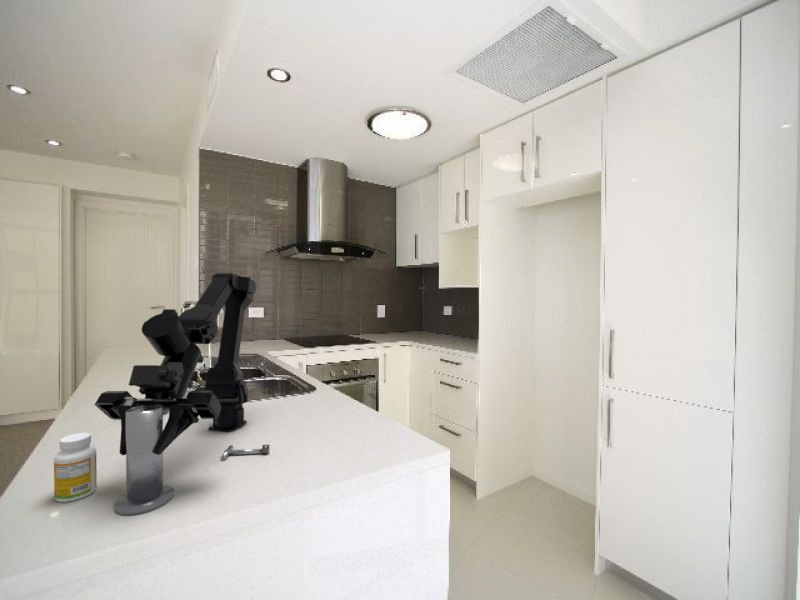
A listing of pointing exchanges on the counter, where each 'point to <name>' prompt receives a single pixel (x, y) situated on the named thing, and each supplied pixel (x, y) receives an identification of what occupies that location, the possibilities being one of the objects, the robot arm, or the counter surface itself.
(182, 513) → the counter surface
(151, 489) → the grey cylindrical piece
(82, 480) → the supplement bottle
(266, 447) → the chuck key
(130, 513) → the coaster
